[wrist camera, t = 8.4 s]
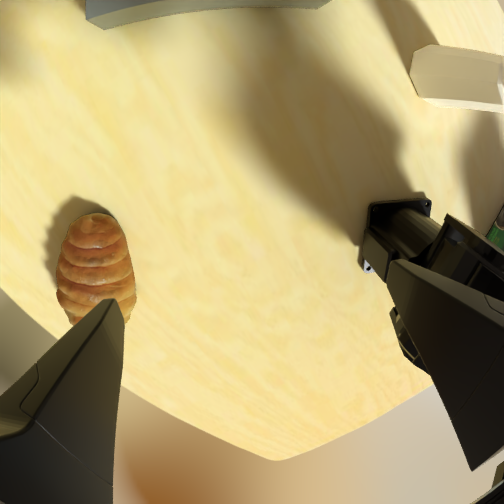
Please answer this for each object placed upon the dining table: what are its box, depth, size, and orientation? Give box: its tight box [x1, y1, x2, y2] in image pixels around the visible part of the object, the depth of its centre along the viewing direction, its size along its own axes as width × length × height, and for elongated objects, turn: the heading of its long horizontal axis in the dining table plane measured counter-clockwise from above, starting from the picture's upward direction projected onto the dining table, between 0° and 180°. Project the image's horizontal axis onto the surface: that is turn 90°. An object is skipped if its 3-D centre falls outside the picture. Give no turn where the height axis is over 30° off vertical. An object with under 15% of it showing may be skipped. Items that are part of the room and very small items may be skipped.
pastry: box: [56, 213, 137, 326], centre depth 21 cm, size 9×7×4 cm
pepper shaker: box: [409, 44, 504, 113], centre depth 13 cm, size 5×5×11 cm
